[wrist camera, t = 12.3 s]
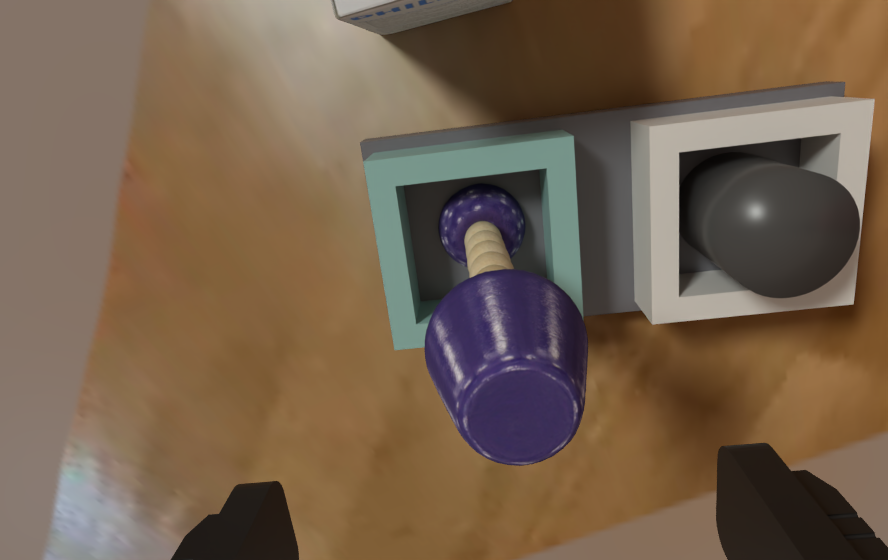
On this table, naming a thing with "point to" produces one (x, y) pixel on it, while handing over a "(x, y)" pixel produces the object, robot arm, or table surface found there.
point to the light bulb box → (404, 12)
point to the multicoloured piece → (642, 204)
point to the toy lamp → (504, 338)
